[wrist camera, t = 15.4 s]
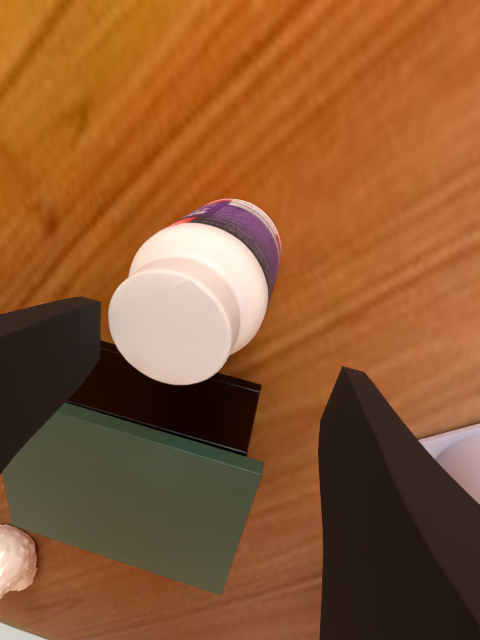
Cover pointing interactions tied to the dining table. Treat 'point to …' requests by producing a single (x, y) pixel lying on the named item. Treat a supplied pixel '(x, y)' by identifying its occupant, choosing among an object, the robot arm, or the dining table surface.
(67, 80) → the dining table surface
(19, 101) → the dining table surface
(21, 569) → the seated beast figurine
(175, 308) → the pill bottle
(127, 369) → the bread box
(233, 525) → the bread lid
